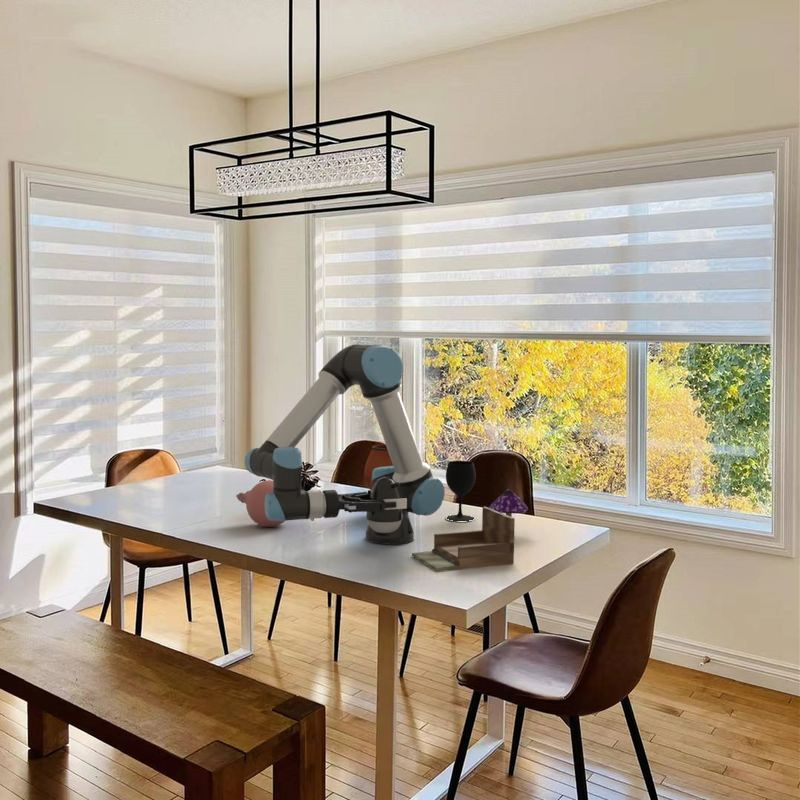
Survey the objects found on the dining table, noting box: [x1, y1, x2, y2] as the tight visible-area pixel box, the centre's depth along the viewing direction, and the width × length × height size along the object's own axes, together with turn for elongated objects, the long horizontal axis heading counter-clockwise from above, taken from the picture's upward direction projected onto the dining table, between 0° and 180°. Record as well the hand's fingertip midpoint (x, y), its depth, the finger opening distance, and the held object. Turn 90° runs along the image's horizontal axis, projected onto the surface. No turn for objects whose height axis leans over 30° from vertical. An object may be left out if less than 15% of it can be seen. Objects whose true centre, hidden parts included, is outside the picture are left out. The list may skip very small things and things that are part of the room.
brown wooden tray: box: [411, 506, 516, 572], centre depth 243 cm, size 17×24×13 cm
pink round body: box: [236, 479, 285, 528], centre depth 283 cm, size 15×20×15 cm
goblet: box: [363, 444, 393, 492], centre depth 301 cm, size 19×19×25 cm
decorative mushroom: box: [489, 489, 529, 517], centre depth 274 cm, size 12×12×15 cm
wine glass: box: [445, 460, 477, 521], centre depth 297 cm, size 10×10×20 cm
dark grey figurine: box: [365, 477, 403, 533], centre depth 237 cm, size 10×10×15 cm
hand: (400, 499), depth 238 cm, fingers closed on dark grey figurine, 9 cm apart
